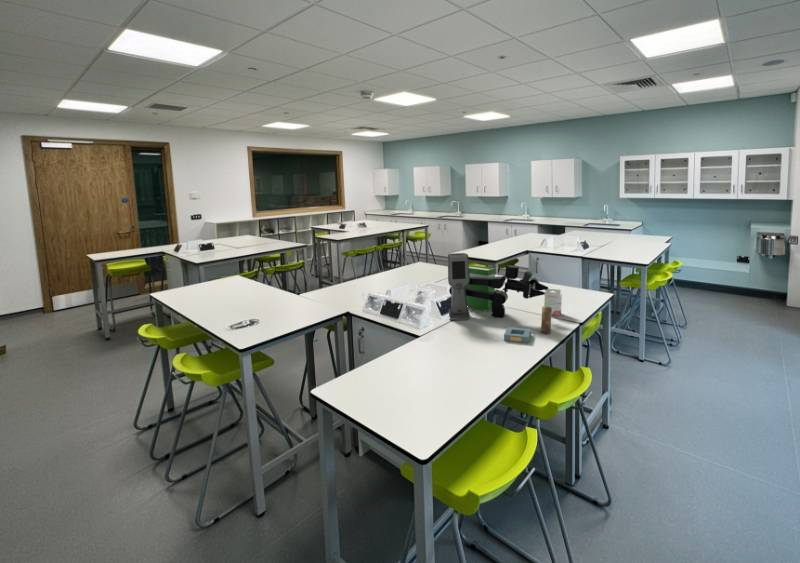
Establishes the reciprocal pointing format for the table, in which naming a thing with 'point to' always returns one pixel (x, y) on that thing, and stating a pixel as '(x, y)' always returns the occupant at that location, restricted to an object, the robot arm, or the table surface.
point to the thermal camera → (458, 285)
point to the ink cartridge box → (553, 300)
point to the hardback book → (480, 287)
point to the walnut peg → (546, 320)
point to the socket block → (517, 335)
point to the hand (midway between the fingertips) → (546, 290)
